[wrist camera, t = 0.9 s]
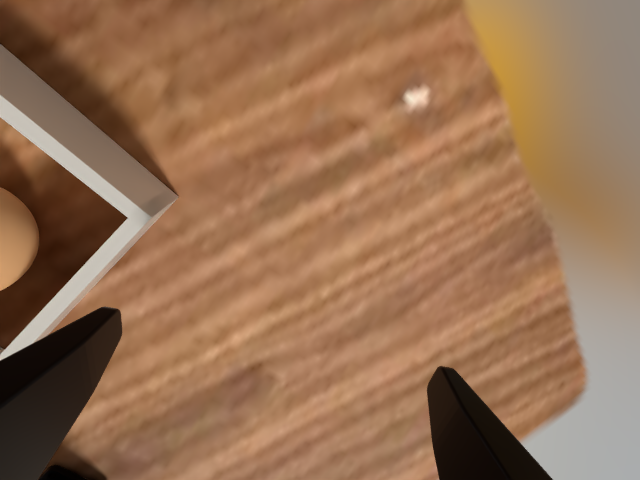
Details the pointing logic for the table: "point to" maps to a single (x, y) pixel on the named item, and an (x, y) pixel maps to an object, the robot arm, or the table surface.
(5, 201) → the ball
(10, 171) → the table surface
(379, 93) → the table surface
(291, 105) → the table surface
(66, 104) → the grey rectangular frame
